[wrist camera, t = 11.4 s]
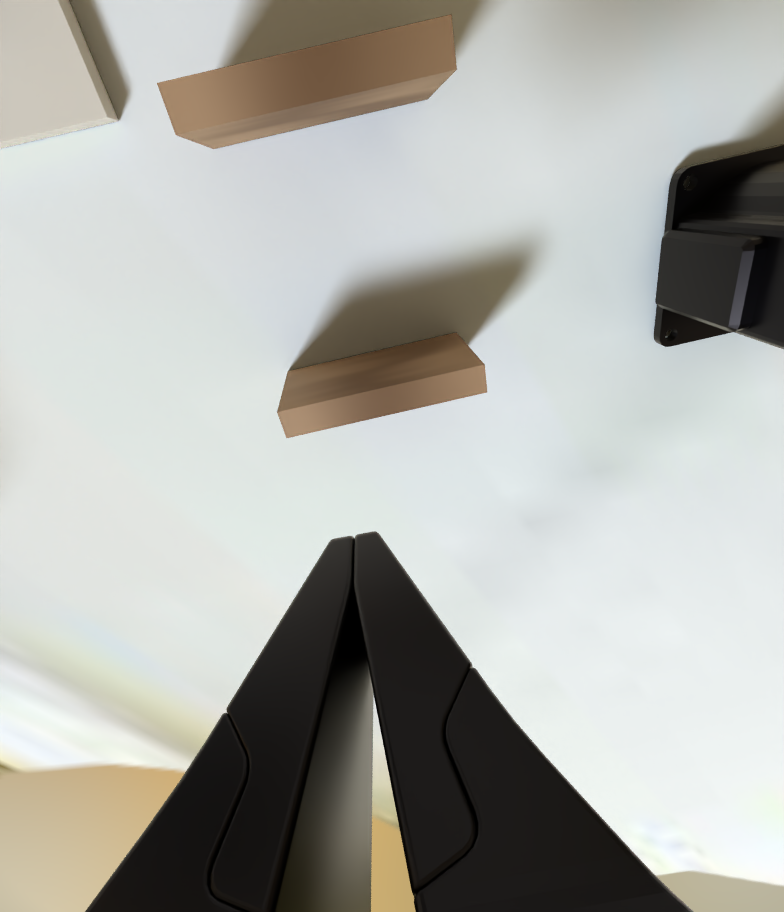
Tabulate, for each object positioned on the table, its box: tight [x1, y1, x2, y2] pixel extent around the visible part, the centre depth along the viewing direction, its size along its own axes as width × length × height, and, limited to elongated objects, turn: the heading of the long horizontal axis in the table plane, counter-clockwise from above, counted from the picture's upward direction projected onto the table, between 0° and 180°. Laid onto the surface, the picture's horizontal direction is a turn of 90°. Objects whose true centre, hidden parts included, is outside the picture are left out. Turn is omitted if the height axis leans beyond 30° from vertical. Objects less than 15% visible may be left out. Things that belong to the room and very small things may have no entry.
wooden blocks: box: [157, 15, 487, 438], centre depth 15 cm, size 7×10×4 cm
